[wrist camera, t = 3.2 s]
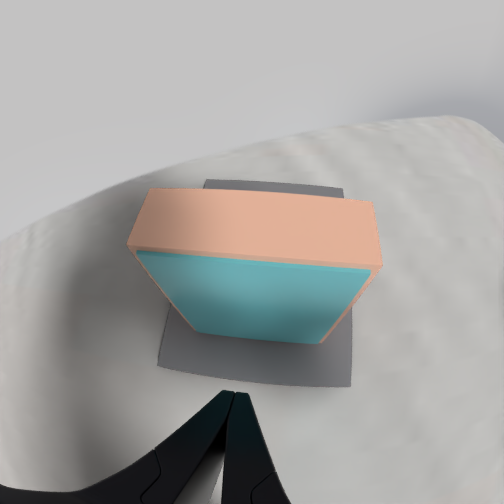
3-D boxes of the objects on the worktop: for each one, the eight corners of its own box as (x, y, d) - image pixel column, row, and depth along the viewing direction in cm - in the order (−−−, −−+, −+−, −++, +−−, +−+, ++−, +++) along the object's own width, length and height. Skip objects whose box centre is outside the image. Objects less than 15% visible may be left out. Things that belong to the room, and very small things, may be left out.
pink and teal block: (321, 345, 16) (383, 269, 7) (193, 332, 17) (124, 248, 8) (322, 305, 17) (372, 201, 9) (201, 294, 18) (149, 188, 10)
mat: (348, 387, 15) (350, 386, 14) (160, 366, 16) (157, 365, 16) (341, 192, 23) (342, 188, 23) (207, 183, 24) (206, 179, 24)
